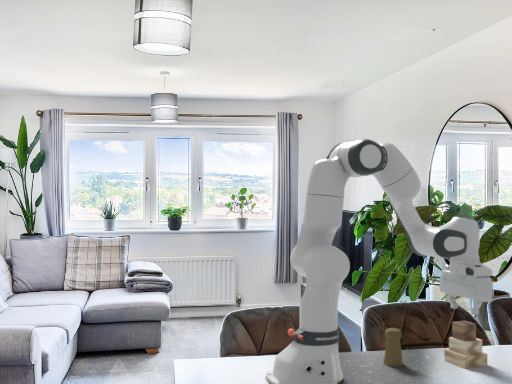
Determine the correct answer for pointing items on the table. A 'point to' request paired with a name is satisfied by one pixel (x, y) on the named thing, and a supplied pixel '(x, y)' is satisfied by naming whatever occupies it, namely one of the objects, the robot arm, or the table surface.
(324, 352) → the robot arm
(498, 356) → the table surface
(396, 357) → the cork
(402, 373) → the table surface
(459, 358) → the tower base
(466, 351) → the tower mid
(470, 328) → the walnut cube
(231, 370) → the table surface
